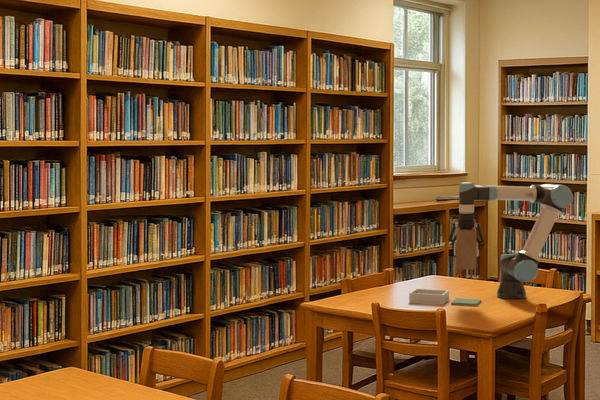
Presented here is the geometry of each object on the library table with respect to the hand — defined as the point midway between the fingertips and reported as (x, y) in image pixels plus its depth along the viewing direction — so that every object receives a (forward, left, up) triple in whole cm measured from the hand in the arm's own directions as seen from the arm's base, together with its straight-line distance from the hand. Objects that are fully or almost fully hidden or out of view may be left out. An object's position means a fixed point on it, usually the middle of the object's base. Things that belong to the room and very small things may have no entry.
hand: (466, 255), depth 424 cm
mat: (0, 0, -25) cm, 25 cm away
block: (0, 0, -7) cm, 7 cm away
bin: (+19, +1, -25) cm, 31 cm away
